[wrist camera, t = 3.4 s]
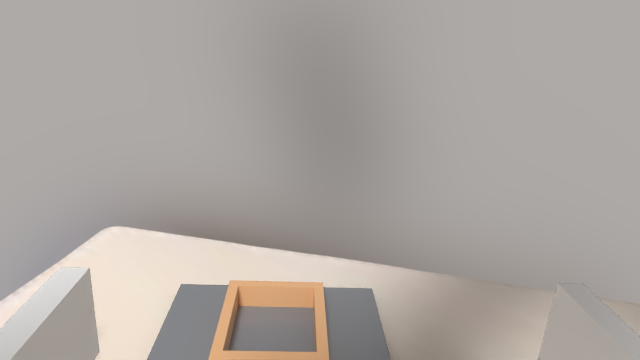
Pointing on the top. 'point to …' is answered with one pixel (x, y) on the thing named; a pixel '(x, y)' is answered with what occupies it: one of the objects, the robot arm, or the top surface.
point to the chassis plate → (271, 323)
